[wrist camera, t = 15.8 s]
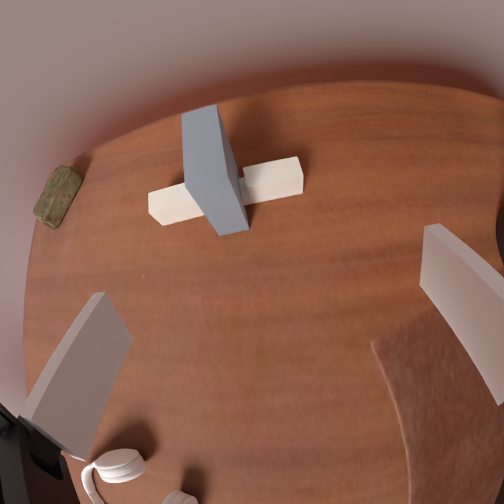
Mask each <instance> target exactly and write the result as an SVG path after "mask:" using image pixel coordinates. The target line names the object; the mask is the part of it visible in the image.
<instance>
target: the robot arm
mask: <svg viewBox="0 0 504 504" xmlns="http://www.w3.org/2000/svg"><path fill="white" fill-rule="evenodd" d="M496 232H497V242H498V247H499V251H500V255H501V258H502V261H503V263H504V207H503V208H502V209H501V211H500V212H499V215H498V219H497V227H496ZM420 286H421V287H422V289H423V290H424V291H425V293H426V294H427V295H428V296H429V298H430V299H431V300H432V302H433V303H434V304H435V306H436V307H437V309H438V310H439V311H440V313H441V314H442V315H443V317H444V318H445V320H446V321H447V322H448V324H449V325H450V327H451V328H452V330H453V331H454V333H455V334H456V336H457V337H458V339H459V340H460V342H461V343H462V345H463V346H464V348H465V349H466V351H467V352H468V354H469V356H470V357H471V359H472V360H473V362H474V364H475V365H476V367H477V369H478V370H479V372H480V374H481V375H482V377H483V379H484V381H485V382H486V384H487V386H488V388H489V390H490V391H491V393H492V395H493V397H494V399H495V401H496V403H497V405H500V404H501V403H503V402H504V278H503V277H502V276H501V275H500V274H499V273H498V272H497V271H496V270H495V269H494V268H493V267H492V266H490V265H489V264H488V263H487V262H486V261H485V260H484V259H483V258H481V257H480V256H479V255H478V254H477V253H476V252H474V251H473V250H472V249H471V248H470V247H469V246H467V245H466V244H465V243H464V242H462V241H461V240H460V239H459V238H457V237H456V236H455V235H454V234H452V233H451V232H450V231H449V230H447V229H446V228H445V227H443V226H442V225H441V224H439V223H438V224H433V225H429V226H424V241H423V255H422V267H421V276H420ZM132 341H133V336H132V335H131V333H130V332H129V330H128V329H127V327H126V325H125V324H124V322H123V320H122V319H121V317H120V315H119V314H118V312H117V310H116V308H115V307H114V305H113V303H112V301H111V300H110V298H109V296H108V294H107V292H106V291H105V292H100V293H94V294H93V295H92V296H91V298H90V299H89V300H88V302H87V303H86V305H85V306H84V307H83V309H82V310H81V312H80V313H79V315H78V316H77V318H76V319H75V320H74V322H73V323H72V325H71V326H70V328H69V329H68V331H67V332H66V334H65V335H64V337H63V339H62V340H61V342H60V343H59V345H58V346H57V348H56V350H55V351H54V353H53V354H52V356H51V358H50V359H49V361H48V363H47V364H46V366H45V368H44V369H43V371H42V373H41V375H40V376H39V378H38V380H37V382H36V383H35V385H34V387H33V389H32V391H31V393H30V394H29V396H28V398H27V400H26V402H25V404H24V406H23V408H22V410H21V412H20V414H19V416H18V418H16V417H14V416H13V415H12V414H11V413H10V412H9V411H8V410H7V409H6V408H5V407H4V406H3V405H2V404H1V403H0V504H80V501H79V499H78V496H77V493H76V491H75V488H74V485H73V482H72V479H71V476H70V473H69V469H68V466H67V462H66V460H65V458H64V456H63V455H61V454H60V453H61V450H63V451H64V452H66V453H67V454H69V455H70V456H71V457H73V458H76V459H79V460H82V461H86V462H87V458H88V455H89V452H90V449H91V446H92V443H93V440H94V437H95V434H96V431H97V429H98V426H99V423H100V420H101V417H102V415H103V412H104V409H105V407H106V404H107V401H108V399H109V396H110V394H111V391H112V388H113V386H114V383H115V381H116V378H117V376H118V374H119V371H120V369H121V366H122V364H123V362H124V359H125V357H126V354H127V352H128V350H129V348H130V345H131V343H132ZM495 504H504V479H503V482H502V485H501V488H500V491H499V493H498V496H497V499H496V501H495Z"/></svg>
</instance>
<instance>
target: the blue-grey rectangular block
mask: <svg viewBox="0 0 504 504" xmlns="http://www.w3.org/2000/svg"><path fill="white" fill-rule="evenodd" d="M182 143H183V164H184V180H185V187H186V189H187V190H188V192H189V193H190V195H191V196H192V197H193V199H194V200H195V202H196V203H197V205H198V206H199V207H200V209H201V210H202V212H203V213H204V215H205V216H206V217H207V219H208V220H209V222H210V223H211V224H212V226H213V227H214V229H215V230H216V231H217V233H218V234H219V236H222V235H227V234H231V233H236V232H240V231H245V230H249V224H248V219H247V213H246V210H245V208H244V205H243V202H242V196H241V191H240V185H239V180H238V179H239V178H240V177H239V171H238V167H237V164H236V161H235V158H234V155H233V152H232V149H231V146H230V143H229V140H228V137H227V134H226V131H225V128H224V125H223V122H222V119H221V117H220V114H219V111H218V108H217V105H216V104H215V105H211V106H208V107H204V108H201V109H197V110H194V111H190V112H187V113H184V114H182Z"/></svg>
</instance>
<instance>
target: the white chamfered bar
mask: <svg viewBox="0 0 504 504" xmlns="http://www.w3.org/2000/svg"><path fill="white" fill-rule="evenodd" d="M243 171H244V176H245V177H243V178H239V179H238V180H239V185H240V191H241V196H242V202H243V205H244V206H245V205H250V204H254V203H259V202H263V201H268V200H273V199H277V198H282V197H287V196H292V195H297V194H302V193H303V172H302V169H301V166H300V163H299V160H298V157H297V156H296V157H291V158H286V159H281V160H276V161H271V162H266V163H261V164H257V165H252V166H248V167H243ZM149 214H151V215H152V216H153V217H154V218H155V219H156V220H157V221H158V222H159V223H160V224H162V225H163V226H164V225H168V224H171V223H175V222H179V221H183V220H187V219H191V218H195V217H199V216H203V215H204V213H203V212H202V210H201V209H200V207H199V206H198V205H197V203H196V202H195V200H194V199H193V197H192V196H191V195H190V193H189V192H188V190H187V189H186V187H185V183H181V184H178V185H174V186H171V187H167V188H164V189H161V190H157V191H154V192H151V193H149Z"/></svg>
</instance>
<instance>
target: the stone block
mask: <svg viewBox="0 0 504 504" xmlns="http://www.w3.org/2000/svg"><path fill="white" fill-rule="evenodd" d="M81 182H82V178H81V176H80V175H79V174H78V173H77V172H76V171H75V170H74V169H72V168H71V167H69V166H64V165H60V166H59V167H58V168H56V169H55V171H54V172H53V174H52V176H51V177H50V179H49V181H48V183H47V184H46V186H45V188H44V190H43V192H42V194H41V196H40V198H39V200H38V201H37V204H36V206H35V208H34V210H33V212H34V214H35V215H36V217H37V218H38V220H39V221H41V222H42V223H43V224H45V225H47V226H49V227H51V228H52V229H56V228H57V227H58V226H59V224H60V223H61V221H62V219H63V218H64V216H65V214H66V211H67V209H68V208H69V206H70V204H71V202H72V200H73V198H74V196H75V194H76V192H77V191H78V189H79V187H80V185H81Z"/></svg>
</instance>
